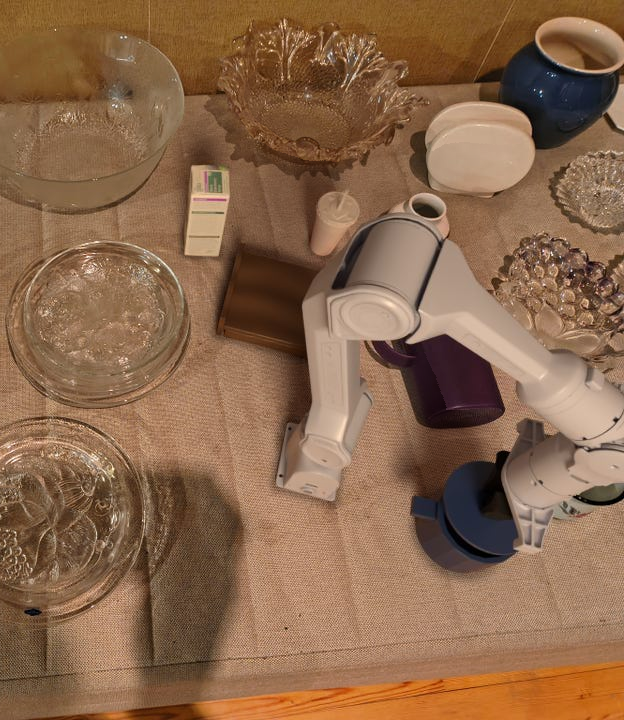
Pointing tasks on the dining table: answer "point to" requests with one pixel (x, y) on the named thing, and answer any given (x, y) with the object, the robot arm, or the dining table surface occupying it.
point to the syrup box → (206, 210)
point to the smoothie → (333, 220)
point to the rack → (266, 303)
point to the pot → (447, 539)
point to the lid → (476, 510)
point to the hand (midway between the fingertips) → (490, 503)
